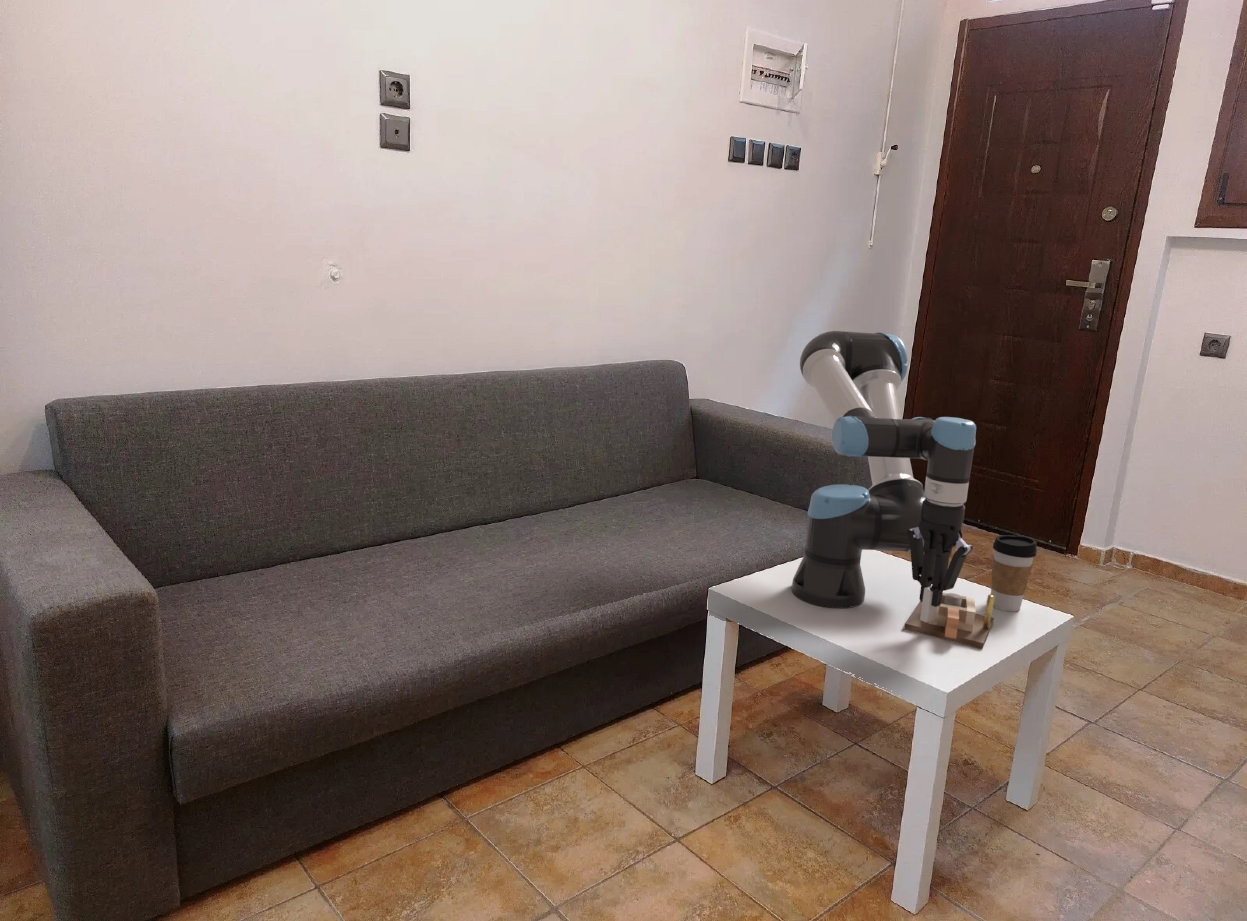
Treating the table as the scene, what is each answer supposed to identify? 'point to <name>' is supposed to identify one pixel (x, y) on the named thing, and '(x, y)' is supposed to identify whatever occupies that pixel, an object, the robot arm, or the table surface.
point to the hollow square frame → (955, 616)
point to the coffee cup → (1011, 570)
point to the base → (962, 637)
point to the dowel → (988, 612)
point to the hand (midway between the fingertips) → (927, 619)
